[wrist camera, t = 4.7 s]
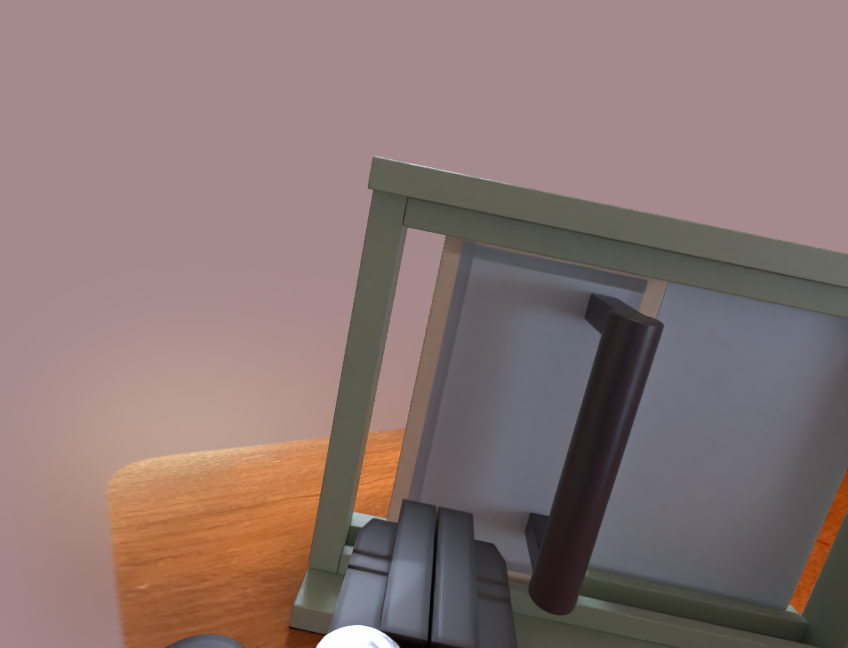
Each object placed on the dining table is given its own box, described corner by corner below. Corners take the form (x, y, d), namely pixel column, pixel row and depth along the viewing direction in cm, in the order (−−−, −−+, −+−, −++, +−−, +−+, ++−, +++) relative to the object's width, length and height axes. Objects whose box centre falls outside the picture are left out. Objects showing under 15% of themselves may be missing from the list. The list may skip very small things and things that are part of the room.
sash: (594, 690, 18) (733, 284, 15) (360, 640, 18) (447, 225, 15) (565, 587, 23) (665, 263, 19) (380, 547, 23) (449, 218, 19)
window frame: (889, 757, 19) (1124, 309, 16) (288, 627, 20) (368, 153, 16) (784, 622, 26) (933, 277, 22) (329, 524, 26) (393, 166, 22)
